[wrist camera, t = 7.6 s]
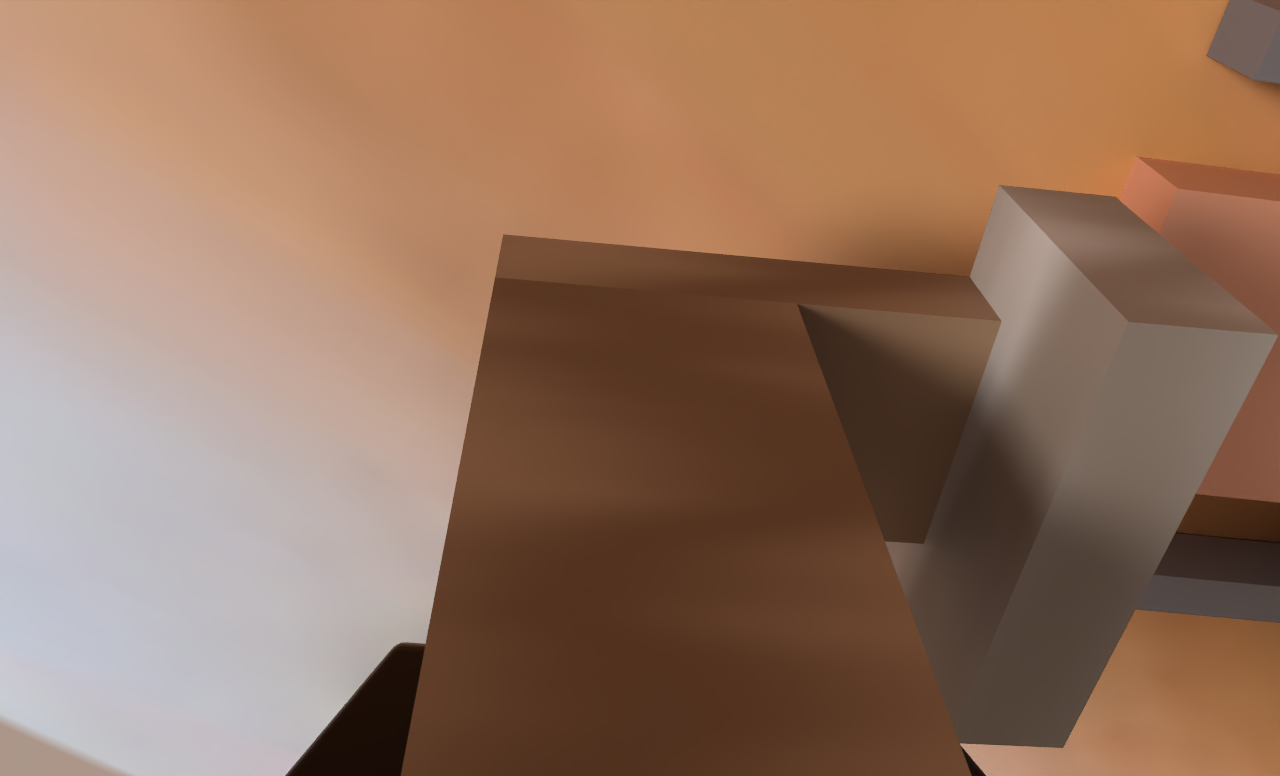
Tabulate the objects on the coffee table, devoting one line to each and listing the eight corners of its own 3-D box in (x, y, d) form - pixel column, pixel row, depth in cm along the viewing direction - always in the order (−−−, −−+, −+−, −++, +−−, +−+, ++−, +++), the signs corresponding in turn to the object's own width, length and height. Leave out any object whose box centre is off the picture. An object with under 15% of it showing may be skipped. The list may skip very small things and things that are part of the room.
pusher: (1115, 196, 12) (1946, 900, 5) (973, 559, 16) (1335, 1326, 8) (507, 135, 12) (345, 846, 4) (489, 529, 15) (381, 1339, 7)
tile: (1436, 188, 18) (1519, 231, 17) (1284, 450, 22) (1340, 508, 20) (1126, 148, 18) (1178, 188, 16) (1017, 421, 21) (1051, 479, 19)
